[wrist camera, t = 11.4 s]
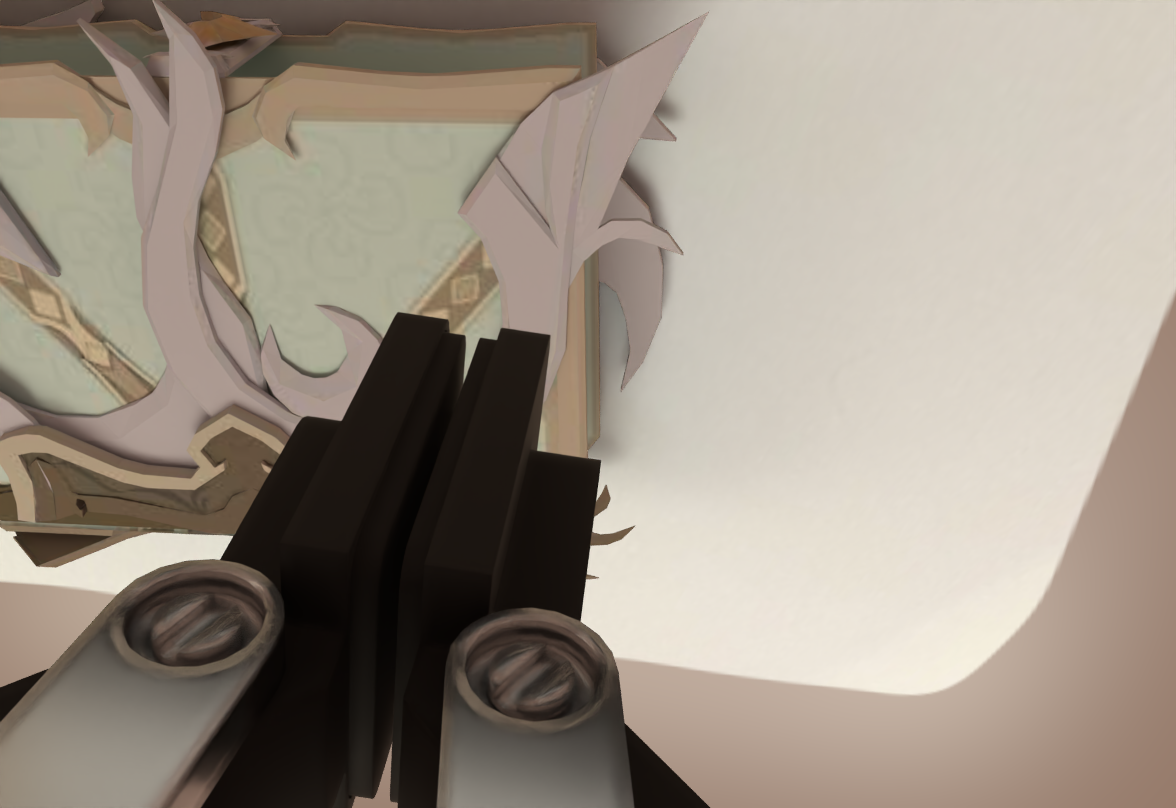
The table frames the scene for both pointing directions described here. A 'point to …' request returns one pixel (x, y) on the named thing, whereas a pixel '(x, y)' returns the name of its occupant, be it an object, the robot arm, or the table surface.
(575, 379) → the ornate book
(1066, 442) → the table surface
